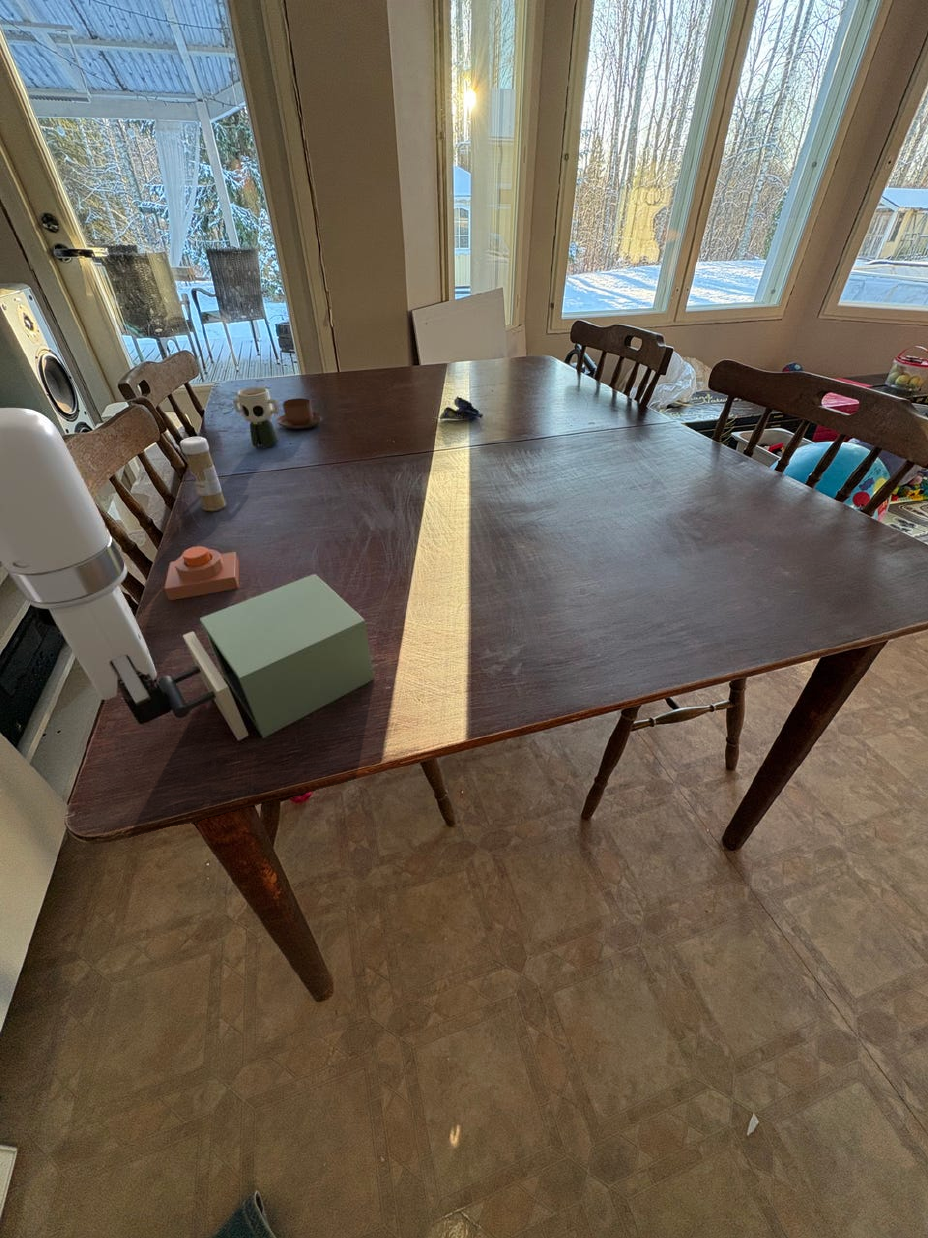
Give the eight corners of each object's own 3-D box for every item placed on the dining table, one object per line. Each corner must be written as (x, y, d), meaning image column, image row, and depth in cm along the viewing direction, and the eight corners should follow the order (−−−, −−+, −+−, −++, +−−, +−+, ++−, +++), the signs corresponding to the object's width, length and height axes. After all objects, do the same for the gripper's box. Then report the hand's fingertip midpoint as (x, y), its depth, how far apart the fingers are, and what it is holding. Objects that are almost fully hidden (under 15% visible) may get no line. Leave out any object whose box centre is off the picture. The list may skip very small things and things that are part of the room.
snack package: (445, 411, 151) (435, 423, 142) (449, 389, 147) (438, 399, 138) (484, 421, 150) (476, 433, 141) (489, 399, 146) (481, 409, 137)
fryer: (263, 738, 57) (239, 678, 51) (223, 677, 65) (199, 618, 59) (374, 679, 65) (365, 620, 59) (327, 630, 72) (314, 573, 66)
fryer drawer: (198, 761, 54) (172, 712, 49) (168, 699, 61) (142, 651, 56) (347, 684, 63) (336, 636, 58) (305, 637, 70) (293, 591, 65)
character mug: (239, 449, 127) (223, 394, 119) (251, 439, 133) (236, 386, 124) (281, 451, 126) (269, 395, 118) (291, 440, 132) (280, 387, 124)
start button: (185, 569, 78) (181, 559, 77) (187, 557, 81) (183, 548, 80) (210, 565, 79) (206, 555, 78) (211, 554, 82) (208, 544, 80)
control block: (169, 600, 78) (159, 579, 75) (174, 573, 84) (165, 552, 81) (238, 588, 80) (231, 567, 78) (239, 562, 86) (232, 541, 84)
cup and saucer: (283, 419, 146) (278, 396, 142) (326, 418, 146) (322, 395, 142) (274, 433, 136) (268, 409, 133) (319, 432, 137) (315, 408, 133)
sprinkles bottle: (197, 509, 102) (173, 441, 93) (216, 500, 105) (194, 434, 97) (214, 513, 100) (190, 445, 92) (232, 504, 103) (211, 438, 95)
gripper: (7, 547, 45) (100, 690, 57) (27, 630, 36) (133, 780, 48) (102, 521, 49) (171, 660, 61) (141, 591, 40) (214, 739, 52)
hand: (154, 713), depth 54 cm, fingers closed
